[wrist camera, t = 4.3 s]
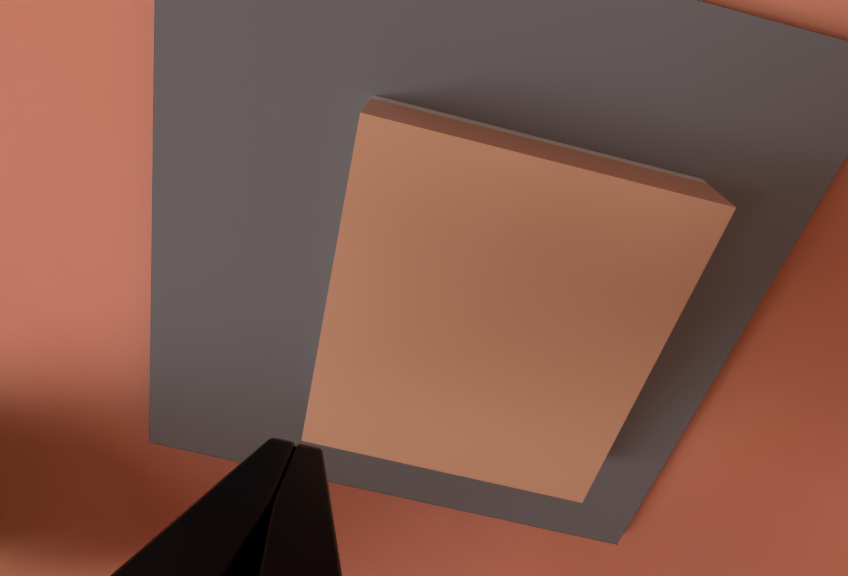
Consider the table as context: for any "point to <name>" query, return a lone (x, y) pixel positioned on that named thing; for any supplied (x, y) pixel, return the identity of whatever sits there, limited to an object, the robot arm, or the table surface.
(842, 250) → the table surface
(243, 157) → the mat
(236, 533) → the robot arm
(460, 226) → the tile
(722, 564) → the table surface
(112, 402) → the table surface
